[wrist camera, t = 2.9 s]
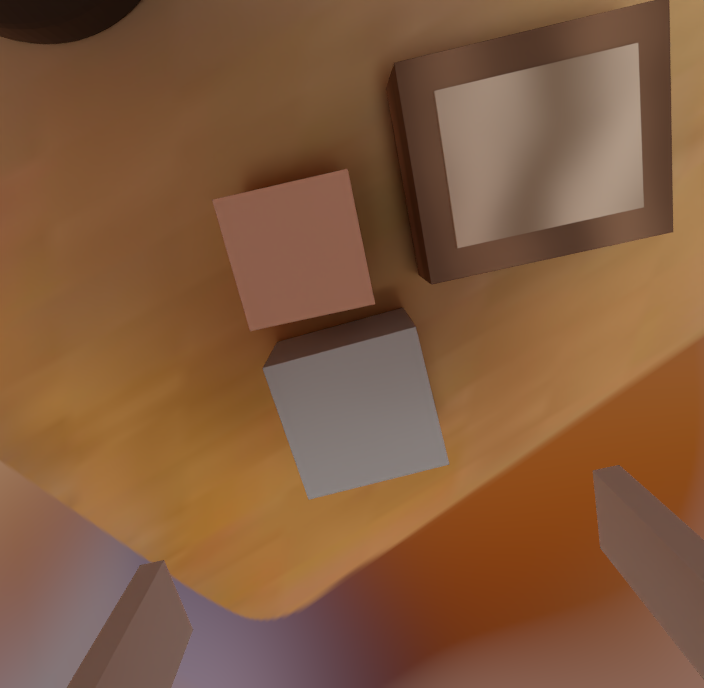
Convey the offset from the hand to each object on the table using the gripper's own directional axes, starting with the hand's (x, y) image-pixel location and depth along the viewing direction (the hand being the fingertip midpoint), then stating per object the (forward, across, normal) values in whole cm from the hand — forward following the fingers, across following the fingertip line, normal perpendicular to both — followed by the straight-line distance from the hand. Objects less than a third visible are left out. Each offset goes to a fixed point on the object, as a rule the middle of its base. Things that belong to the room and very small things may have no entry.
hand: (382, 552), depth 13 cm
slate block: (+15, 0, 0) cm, 15 cm away
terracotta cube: (+15, -1, +9) cm, 17 cm away
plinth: (+15, +11, +11) cm, 21 cm away
